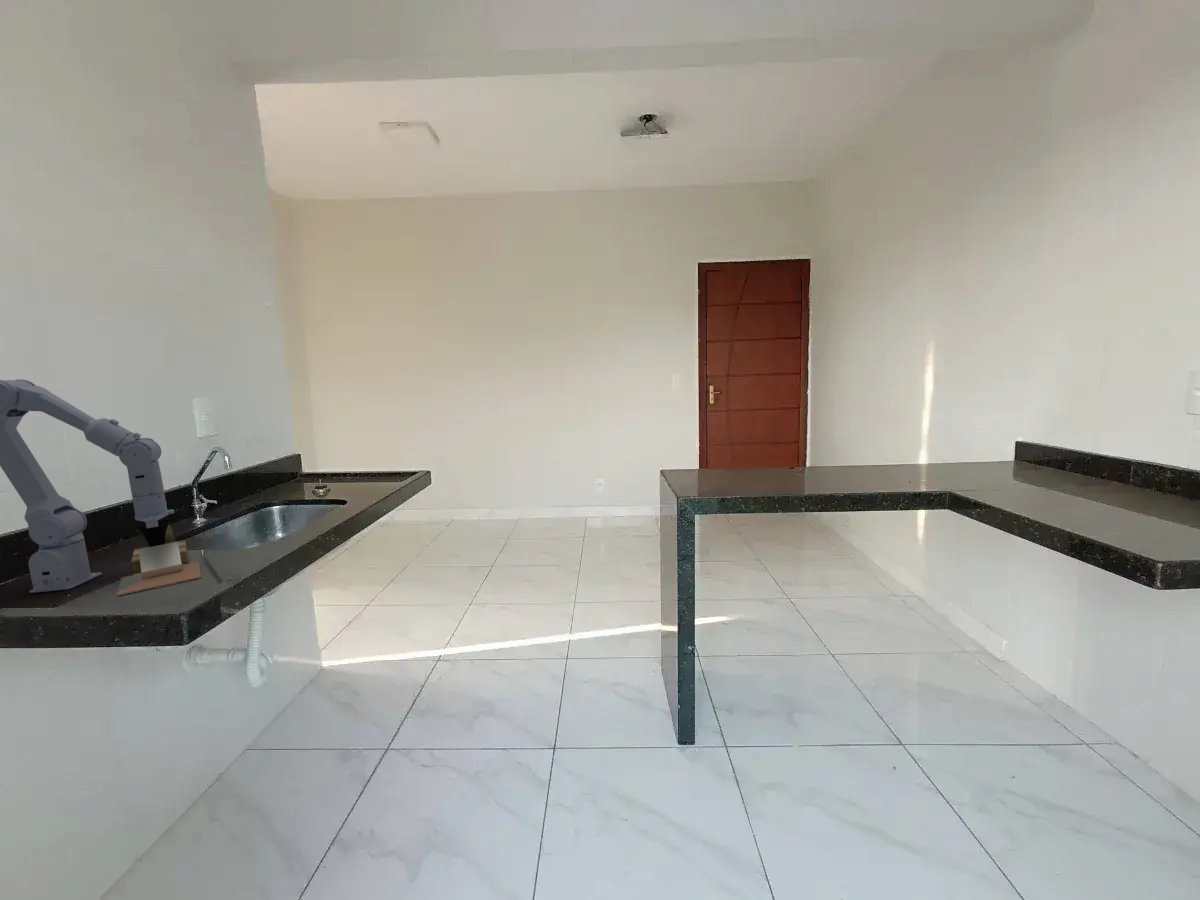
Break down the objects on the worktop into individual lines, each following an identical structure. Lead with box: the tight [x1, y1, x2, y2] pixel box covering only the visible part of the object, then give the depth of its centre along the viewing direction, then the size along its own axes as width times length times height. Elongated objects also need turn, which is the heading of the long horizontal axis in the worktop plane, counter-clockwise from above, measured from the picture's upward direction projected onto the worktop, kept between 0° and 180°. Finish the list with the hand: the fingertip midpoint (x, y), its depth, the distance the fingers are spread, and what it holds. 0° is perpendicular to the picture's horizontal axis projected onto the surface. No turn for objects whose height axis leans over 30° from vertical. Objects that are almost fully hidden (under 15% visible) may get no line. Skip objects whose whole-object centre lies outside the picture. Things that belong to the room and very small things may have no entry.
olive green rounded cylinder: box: [165, 524, 176, 544], centre depth 152 cm, size 6×6×11 cm
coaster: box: [137, 541, 183, 579], centre depth 131 cm, size 7×7×2 cm
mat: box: [116, 561, 202, 596], centre depth 127 cm, size 14×14×1 cm
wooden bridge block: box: [130, 539, 189, 575], centre depth 139 cm, size 14×10×3 cm
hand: (158, 553), depth 134 cm, fingers closed
